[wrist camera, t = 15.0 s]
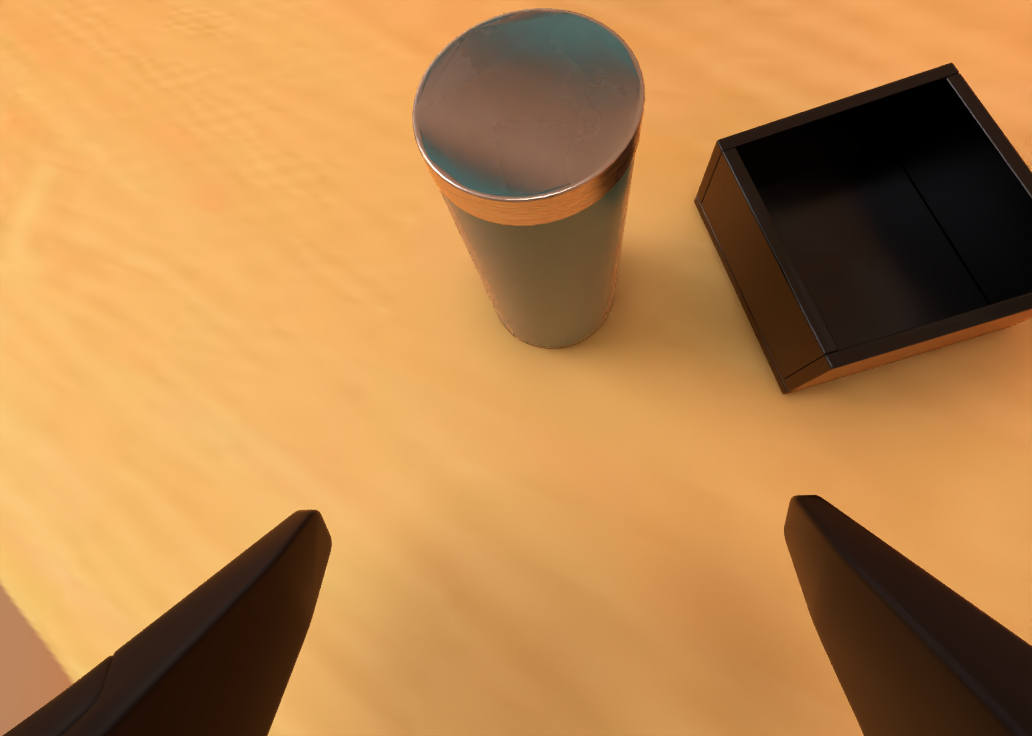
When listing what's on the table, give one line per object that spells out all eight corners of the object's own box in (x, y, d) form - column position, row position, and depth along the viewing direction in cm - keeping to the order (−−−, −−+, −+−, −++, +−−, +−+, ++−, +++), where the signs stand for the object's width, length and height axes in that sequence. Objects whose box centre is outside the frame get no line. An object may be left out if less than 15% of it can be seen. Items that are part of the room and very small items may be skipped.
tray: (1008, 327, 21) (1114, 284, 17) (783, 395, 22) (831, 369, 18) (888, 138, 25) (952, 61, 20) (693, 201, 25) (716, 139, 21)
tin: (632, 327, 24) (682, 153, 12) (511, 365, 24) (440, 233, 12) (592, 221, 26) (600, -22, 14) (479, 257, 26) (391, 51, 14)
